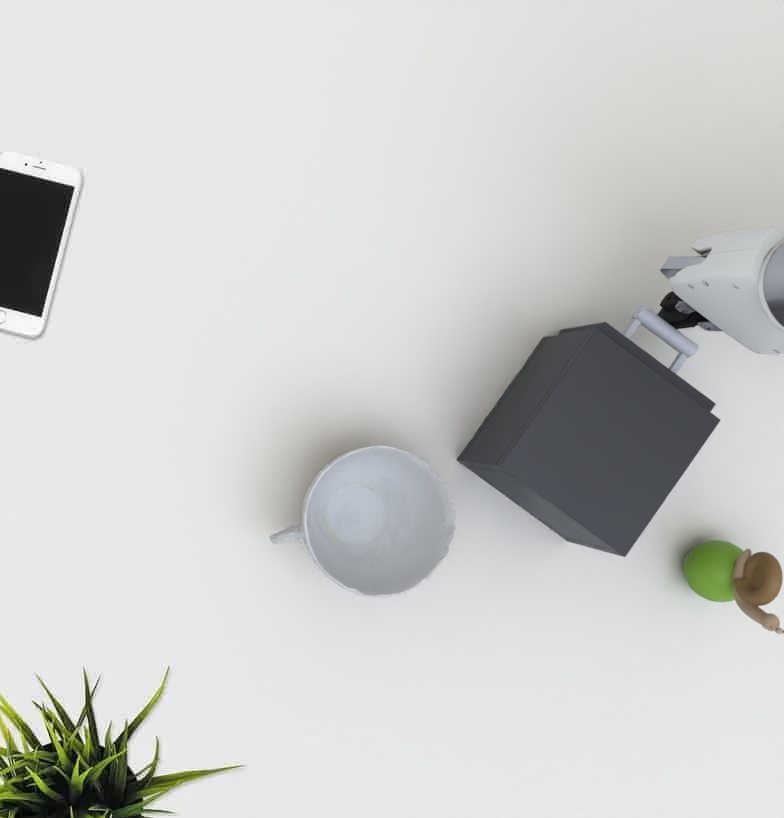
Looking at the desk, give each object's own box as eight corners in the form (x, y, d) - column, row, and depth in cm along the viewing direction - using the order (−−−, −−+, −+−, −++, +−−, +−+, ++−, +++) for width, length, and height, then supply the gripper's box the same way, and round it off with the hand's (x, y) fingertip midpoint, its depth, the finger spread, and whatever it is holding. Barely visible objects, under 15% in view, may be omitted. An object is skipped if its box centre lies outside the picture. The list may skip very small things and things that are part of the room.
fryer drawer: (587, 291, 90) (634, 280, 82) (688, 367, 91) (745, 362, 83) (480, 442, 90) (517, 445, 82) (583, 517, 90) (630, 527, 82)
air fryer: (543, 337, 91) (597, 327, 81) (654, 419, 91) (721, 419, 82) (456, 460, 91) (500, 465, 81) (568, 542, 91) (625, 557, 81)
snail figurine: (665, 602, 91) (752, 631, 79) (675, 533, 91) (763, 551, 80) (722, 610, 92) (817, 640, 80) (732, 541, 92) (828, 560, 80)
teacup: (410, 431, 90) (441, 433, 82) (435, 567, 90) (468, 582, 82) (248, 462, 90) (262, 466, 82) (273, 598, 90) (290, 617, 82)
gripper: (940, 304, 69) (762, 327, 87) (770, 174, 68) (627, 224, 87) (878, 392, 69) (713, 396, 87) (707, 262, 68) (577, 294, 86)
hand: (671, 310), depth 87 cm, fingers closed
